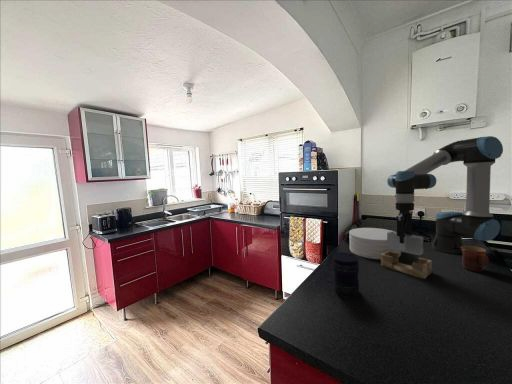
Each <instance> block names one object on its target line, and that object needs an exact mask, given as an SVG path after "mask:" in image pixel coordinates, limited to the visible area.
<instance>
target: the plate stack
mask: <svg viewBox="0 0 512 384" xmlns="http://www.w3.org/2000/svg"><path fill="white" fill-rule="evenodd" d="M389 232H395V231H394V230H389V229H387V228H386V229H385V228H378V227H377V228H376V227H359V228H358V227H357V228H353V229H351V230H349V233H348V234H349V236H348V237H349V241H348V242H349V251H350V252H351V254H353V255H355V256H359V257H361V258H367V259H372V260H381V254H383V253H385V252H386V251H393V252H397V253H398V257H399V258H400V257H401V254H402V253H401V252H402V251H398V250H393V249H389V248H387V233H389Z"/></svg>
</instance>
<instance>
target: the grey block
mask: <svg viewBox="0 0 512 384" xmlns="http://www.w3.org/2000/svg"><path fill="white" fill-rule="evenodd" d="M405 237H406V250H402V249H399V236H397V231H394V232H389V233H387V248H389V249H393V250H398V251H400V252H402V253H405V254H406V253H407V254H412V255H416V256H421V255H422V254H424V237H423V236H421V235H420V236H419V235H414V234H412V235H410V234H405Z"/></svg>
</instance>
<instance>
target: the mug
mask: <svg viewBox="0 0 512 384" xmlns="http://www.w3.org/2000/svg"><path fill="white" fill-rule="evenodd" d="M461 250H462V254H461V255H462V259H461V264H462V267H463V268H464V269H466V270H468V271H471V272H477V273H480V272H483V271H484V268H485V267H487V266H488V264H489V257H488V255H486V253H487V249H485V248H483V247H479V246H476V245H475V246H473V245H465V246H461Z"/></svg>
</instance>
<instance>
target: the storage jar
mask: <svg viewBox="0 0 512 384" xmlns="http://www.w3.org/2000/svg"><path fill="white" fill-rule="evenodd" d="M332 258H333V262H332V264H333V270H334V272H333V273H334V276H333V286H334V287H333V289H334V292H335V294H337V295H338V294H339V295H338V296H340V295H341V297H343V296H345V297H344V298H347V297H353V298H357V297H358V296H359V295H360V281H359V271H360V269H359V268H360V265H359V257H358V255H356V254H354V253H348V252H337V253H335V254H333V257H332ZM356 296H357V297H356Z"/></svg>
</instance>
